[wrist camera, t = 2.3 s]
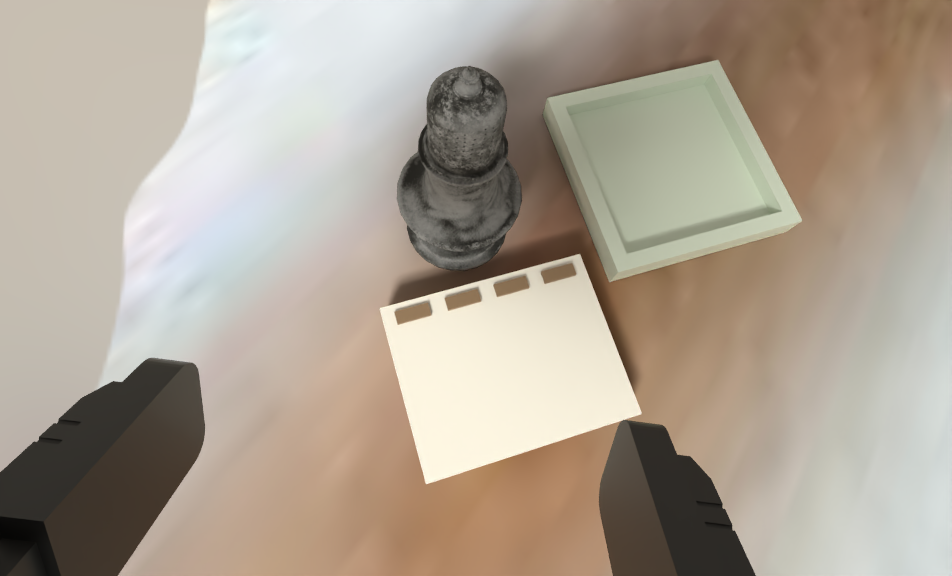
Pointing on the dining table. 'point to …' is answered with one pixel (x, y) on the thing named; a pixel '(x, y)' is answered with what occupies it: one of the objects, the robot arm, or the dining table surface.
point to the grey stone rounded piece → (461, 173)
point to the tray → (667, 169)
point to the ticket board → (506, 366)
